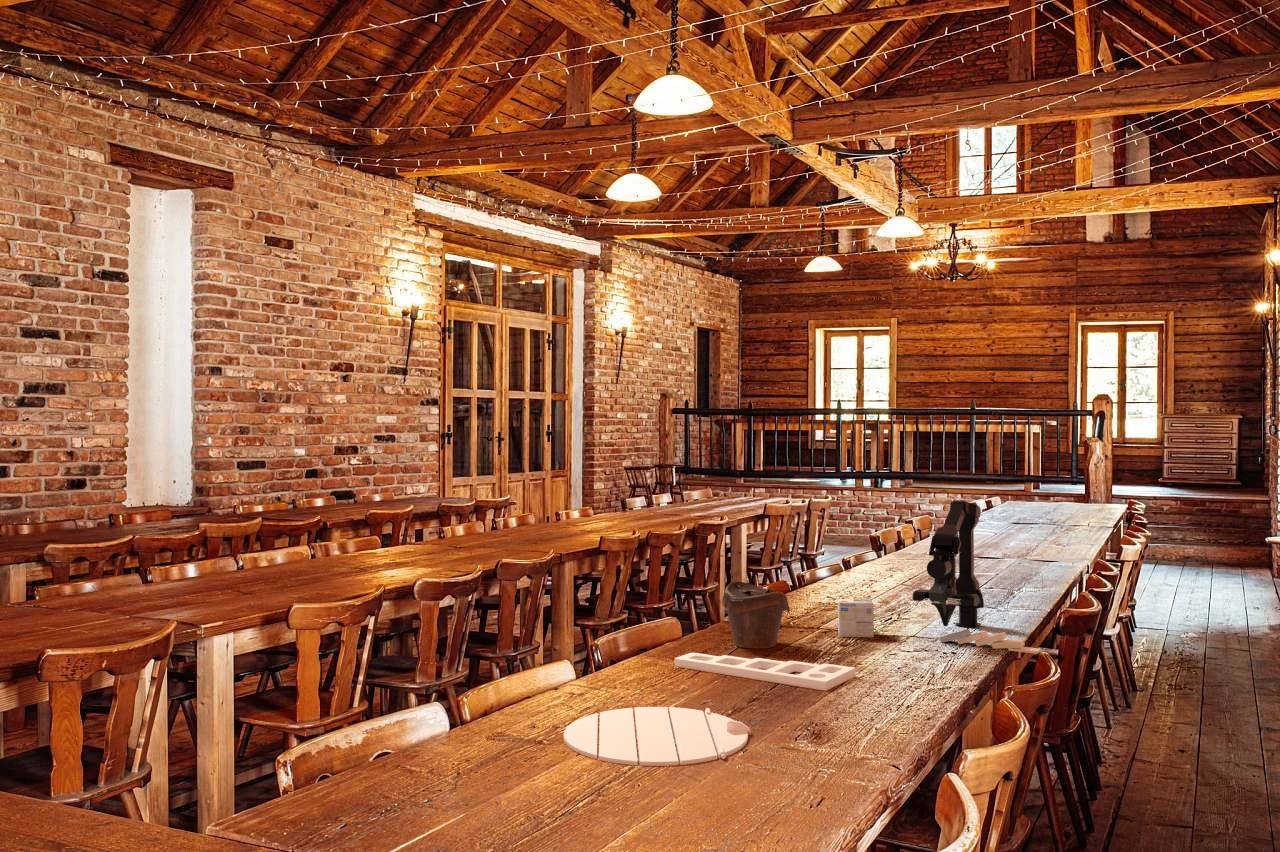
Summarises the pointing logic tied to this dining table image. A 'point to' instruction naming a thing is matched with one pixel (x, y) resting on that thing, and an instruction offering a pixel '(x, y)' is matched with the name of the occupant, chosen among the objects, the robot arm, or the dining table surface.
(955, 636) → the domino
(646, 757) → the white grooved round board
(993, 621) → the dining table surface
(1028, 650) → the domino
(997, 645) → the domino
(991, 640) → the domino
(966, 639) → the domino
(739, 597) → the rusty bucket
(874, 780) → the dining table surface
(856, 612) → the light bulb box
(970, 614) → the robot arm
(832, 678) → the holder
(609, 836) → the dining table surface
